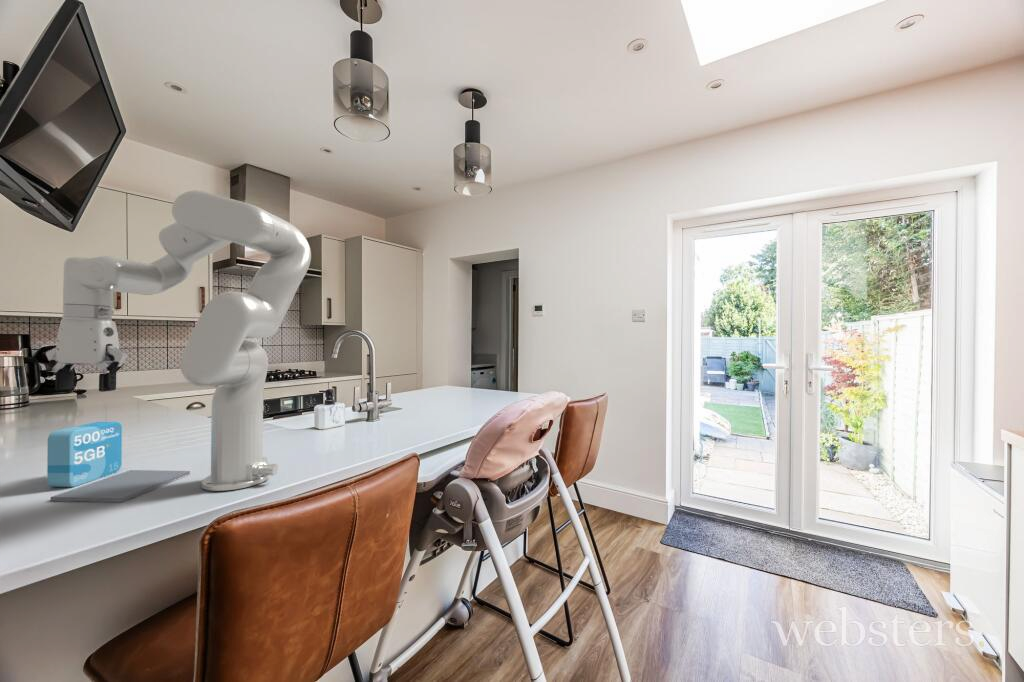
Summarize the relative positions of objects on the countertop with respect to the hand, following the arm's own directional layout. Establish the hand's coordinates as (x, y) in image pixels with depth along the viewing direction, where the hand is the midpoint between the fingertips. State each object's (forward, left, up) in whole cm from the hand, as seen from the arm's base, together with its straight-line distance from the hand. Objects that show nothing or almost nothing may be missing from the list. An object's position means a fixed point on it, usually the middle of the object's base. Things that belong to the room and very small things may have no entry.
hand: (86, 390), depth 89 cm
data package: (0, 0, -20) cm, 20 cm away
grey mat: (-13, +4, -20) cm, 24 cm away
